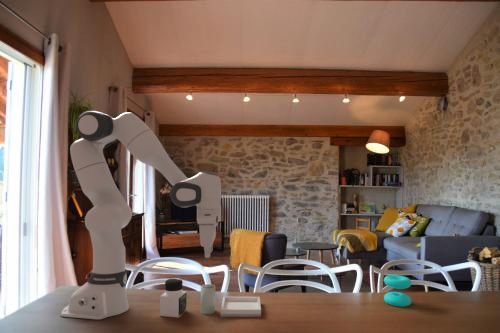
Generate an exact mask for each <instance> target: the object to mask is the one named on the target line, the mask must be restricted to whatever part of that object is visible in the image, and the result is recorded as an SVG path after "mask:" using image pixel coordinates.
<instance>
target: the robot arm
mask: <svg viewBox="0 0 500 333" xmlns="http://www.w3.org/2000/svg"><path fill="white" fill-rule="evenodd" d="M75 130H76V132H77V133H78V135H79V136H80V137H81V138H79V139H77V140H75V141H74V142H73V143H72V144H71V145H70V148H69V150H70V158H71V162H72V165H73V169H74V172H75V176H76V177H77V181H78V182H79V185H80V188H81V190H82V192H83V194H84V196H86V197H87V198H88V199H89V200H90V202H91V203H92V206H93V207H92V208H91V209H89V210H88V211H87V213H86V215H85V217H84V224H85V228H86V229H87V230H88V232H89V236H90V241H91V245H92V270H90V272H88V273H87V274H86V275H85V280H86V279H87V281H86V282H85V283H84V284H82V286H80V287H79V288H78V289H76V290H75V291H74V292H73V293H72V294H71V296H70V298H69V302H68V305H66V306H65V307H63V308H62V310H61V312H60V315H61V317H64V318H66V317H67V318H75V319H76V318H78V319H88V320H89V319H90V320H103V319H106V318H108V317H113V316H117V315H121V314H123V313H125V312H127V311H128V310H129V309H130V305H129V302H128V296H127V286H126V285H127V279H128V276H127V268H126V246H125V245H124V241H123V236H122V235H123V234H122V229H124V228H125V227H126V226H128V224H129V223H130V222H131V220H132V216H133V210H132V208H131V206H130V205H128V203H127V202H126V200H125V198H124V196H123V195H122V193H121V192H120V189H119V188H118V187H117V185H116V183H115V180H114V178H113V176H112V173H111V171H110V167H109V165H108V163H107V160H106V158H105V156H104V149H107V148H108V147H110V146H111V145H113V144H114V143H115V142H117V141H119V142H120V143H122V145H123V146H124V147H125V148H126V149H127V150H126V151H128V152H129V153H130V154H131V155H132V156H133V157H134V158H135V159H137V160H138V161H139V162H140V163H142V164H144V165H148V166H150V167H152V168H154V169H155V170H156V171H158V172H159V173H161V174H162V176H163V177H164V178H165V179H166V180H167V181H168V183H170V184H171V186H172V187H171V190H170V194H169V198H170V200H171V202H172V203H173V204H174V205H175V206H177V207H180V208H189V207H194V206H196V222H197V225H198V226H199V228H198V230H199V243H200V246H201V247H203V251H204V258H205V259H210V258H211V253H212V252H213V250H214V249H213V248H214V247H213V246H214V241H215V239H216V236H217V227H218V225H219V224H218V223H220V222H222V205H221V199H222V181H221V178H220V176H219V175H218V174H217V173H213V172H210V171H199V172H198V173H197V174H195V175H194V176H191V177H188V176H187V175H186V174H185V173H184V172H183V170H181V168H179V166H178V165H176V164H175V162H174V160H173V159H171V157H170V156H169V154H168V152H167V151H166V150H165V148H164V146H163V144H162V143H161V141H160V140H159V138H158V137H157V136H156V134H155V133H154V132H153V131H152V129H151V128H150V127H149V126H148V125H147V124H146V123H145V122H144V120H142V119H141V118H140V117H139V116H137V115H136V114H134V113H133V112H128V111H127V112H123V113H121V114H120V115H118V116H117V117H112V116H111V115H109V114H107V113H105V112H104V113H103V112H100V111H97V110H88V111H83V112H82V113H81V114H80V115H79V116H78V117H77V118H76V121H75Z"/></svg>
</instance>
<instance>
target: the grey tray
mask: <svg viewBox="0 0 500 333" xmlns="http://www.w3.org/2000/svg"><path fill="white" fill-rule="evenodd" d="M261 306H262V305H261V298H260V296H223V297H222V302H221V307H220V317H221V318H262V307H261Z"/></svg>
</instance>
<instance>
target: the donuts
mask: <svg viewBox="0 0 500 333" xmlns="http://www.w3.org/2000/svg"><path fill="white" fill-rule="evenodd" d="M383 282H384V284H385V285H386V286H387V287H389V288H393V289H397V290H404V289H408V288H410V287H411V286H412V280H411V279H410V278H409V277H406V276H403V275H398V274H389V275H385V277H384V279H383ZM383 300H384V302H385V303H386V304H388V305H390V306H394V307H401V308H402V307H403V308H405V307H409V306H410V305H411V304H412V299H411V297H410V296H409V295H407V294H406V293H403V292H399V291H390V292H387V293H385V294H384V295H383Z"/></svg>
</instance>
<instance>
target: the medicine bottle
mask: <svg viewBox="0 0 500 333" xmlns="http://www.w3.org/2000/svg"><path fill="white" fill-rule="evenodd" d="M159 301H160V302H159V303H160V304H159V307H160V308H159V316H160V317H166V318H167V317H168V318H177V319H178V318H180V317H182V315H183V314H184V313H186V311H187V291H186V290H183V280H182V279H181V278H177V277H173V278H168V279H167V280H165V282H164V293H162V294H161V295H160V299H159Z"/></svg>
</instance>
